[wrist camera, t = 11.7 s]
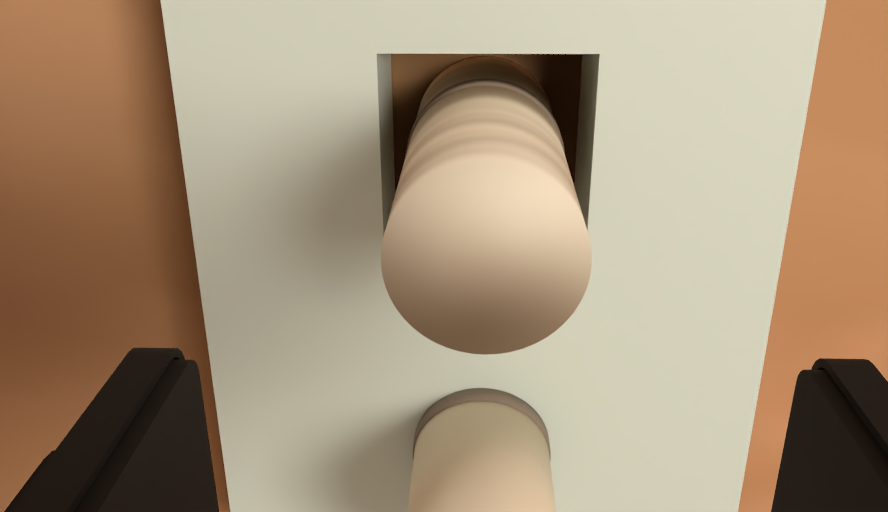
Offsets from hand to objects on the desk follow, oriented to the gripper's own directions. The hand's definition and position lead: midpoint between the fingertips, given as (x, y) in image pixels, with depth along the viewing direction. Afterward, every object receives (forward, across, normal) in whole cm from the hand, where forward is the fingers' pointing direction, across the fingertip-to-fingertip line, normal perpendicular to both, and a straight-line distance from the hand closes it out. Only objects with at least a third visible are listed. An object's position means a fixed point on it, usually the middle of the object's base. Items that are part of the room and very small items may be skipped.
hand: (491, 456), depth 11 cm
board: (+16, 0, +3) cm, 16 cm away
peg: (+16, 0, 0) cm, 16 cm away
